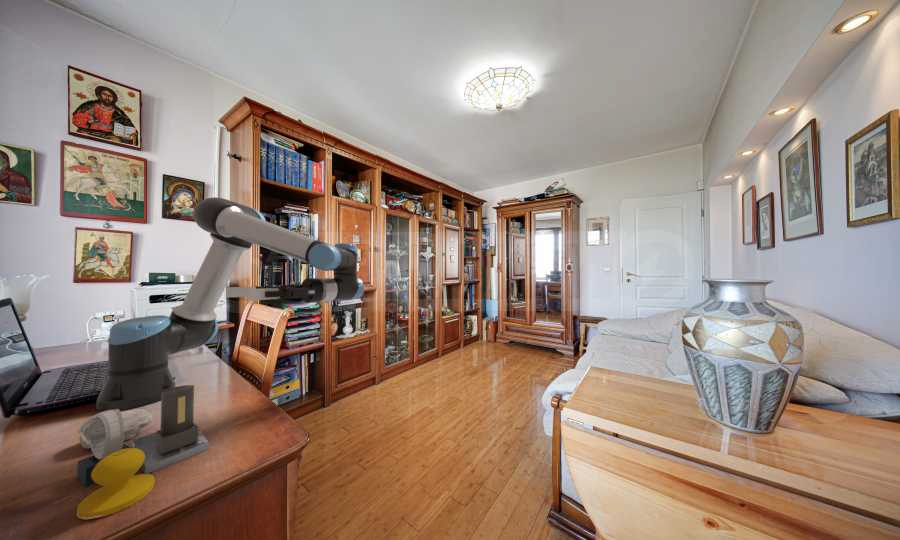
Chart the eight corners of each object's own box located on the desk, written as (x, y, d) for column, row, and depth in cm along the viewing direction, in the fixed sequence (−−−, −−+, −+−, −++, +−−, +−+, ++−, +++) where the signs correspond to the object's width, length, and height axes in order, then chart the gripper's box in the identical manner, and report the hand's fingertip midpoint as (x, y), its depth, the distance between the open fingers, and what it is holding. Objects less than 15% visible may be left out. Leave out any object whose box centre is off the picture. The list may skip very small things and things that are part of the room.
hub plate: (131, 447, 57) (132, 429, 57) (189, 427, 65) (189, 411, 65) (145, 474, 49) (146, 454, 49) (209, 448, 57) (209, 431, 57)
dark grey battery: (156, 445, 55) (157, 391, 56) (190, 433, 60) (191, 383, 60) (162, 454, 52) (163, 397, 53) (198, 441, 57) (198, 387, 57)
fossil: (162, 417, 64) (102, 420, 55) (145, 448, 62) (80, 456, 53) (144, 406, 67) (84, 408, 59) (127, 436, 65) (63, 442, 56)
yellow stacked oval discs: (123, 516, 41) (57, 524, 40) (167, 477, 49) (114, 483, 47) (124, 466, 41) (59, 473, 40) (168, 435, 49) (115, 440, 48)
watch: (119, 456, 54) (121, 401, 54) (136, 469, 51) (138, 410, 51) (72, 475, 49) (74, 414, 49) (88, 490, 46) (90, 425, 46)
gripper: (342, 304, 78) (258, 312, 61) (297, 299, 92) (218, 305, 74) (342, 278, 78) (259, 279, 61) (298, 277, 92) (219, 277, 75)
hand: (236, 293), depth 68 cm, fingers open, 13 cm apart
